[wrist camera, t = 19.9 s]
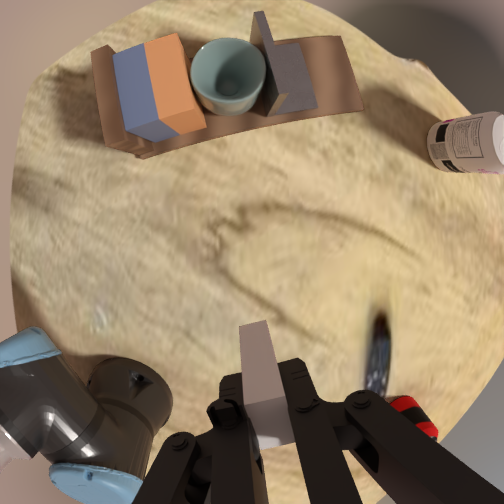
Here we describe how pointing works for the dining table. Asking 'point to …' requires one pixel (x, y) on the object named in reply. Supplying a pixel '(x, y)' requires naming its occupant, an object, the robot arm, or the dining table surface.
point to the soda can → (415, 415)
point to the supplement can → (468, 144)
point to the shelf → (326, 92)
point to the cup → (228, 76)
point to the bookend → (282, 73)
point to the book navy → (138, 96)
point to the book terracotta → (173, 85)
